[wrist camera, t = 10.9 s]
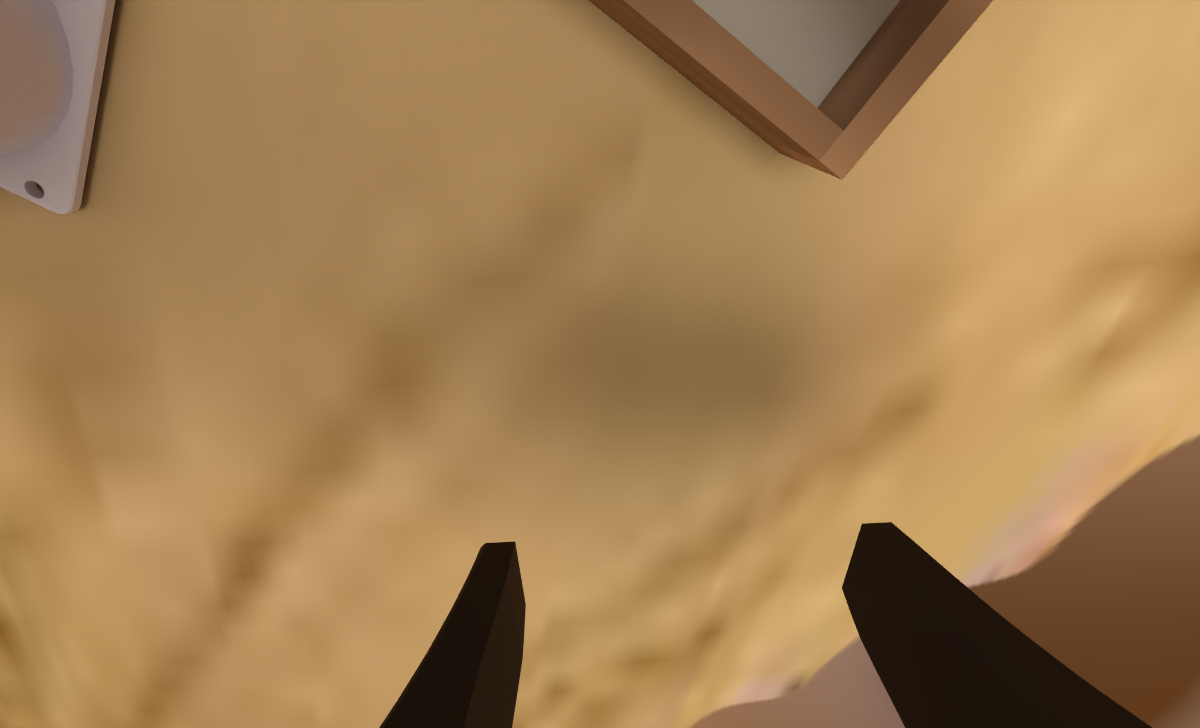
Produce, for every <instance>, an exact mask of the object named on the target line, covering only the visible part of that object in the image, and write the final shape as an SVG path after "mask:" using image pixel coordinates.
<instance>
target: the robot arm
mask: <svg viewBox="0 0 1200 728" xmlns="http://www.w3.org/2000/svg"><path fill="white" fill-rule="evenodd" d="M114 5H115V0H0V187H1V188H3V189H5V190H7V191H10V192H12V193H14V194H16V195H18V196H20V197H22V198H24V199H26V200H28V201H31V202H33V203H35V204H37V205H39V206H41V207H43V208H45V209H47V210H49V211H52V212H54V213H57V214H68V213H72V212H75V211H77V210H79V208H80V206H81V201H82V195H83V189H84V184H85V178H86V172H87V166H88V160H89V154H90V148H91V142H92V136H93V130H94V124H95V118H96V112H97V106H98V100H99V94H100V89H101V83H102V77H103V71H104V65H105V59H106V53H107V47H108V41H109V35H110V29H111V23H112V17H113V11H114ZM36 183H38V184H39V185H40V186H41V187H42V188H43V190H44V193H42V192H41V191H40V190H39V189H38V187H37V185H36ZM842 590H843V592H844V595H845V598H846V601H847V604H848V606H849V609H850V612H851V615H852V618H853V620H854V623H855V625H856V628H857V631H858V633H859V636H860V638H861V640H862V642H863V644H864V647H865V648H866V650H867V653H868V655H869V657H870V659H871V661H872V662H873V665H874V667H875V669H876V671H877V673H878V675H879V677H880V679H881V681H882V683H883V685H884V687H885V688H886V690H887V693H888V694H889V696H890V698H891V700H892V702H893V704H894V706H895V708H896V710H897V712H898V714H899V716H900V718H901V720H902V722H903V724H904V726H905V728H1152V727H1150V726H1149V725H1147V724H1146V723H1145V722H1143V721H1142V720H1140V719H1139V718H1137V717H1136V716H1135V715H1133V714H1132V713H1130V712H1129V711H1127V710H1126V709H1125V708H1123V707H1122V706H1120V705H1119V704H1117V703H1116V702H1114V701H1113V700H1112V699H1110V698H1109V697H1107V696H1106V695H1104V694H1103V693H1102V692H1100V691H1099V690H1097V689H1096V688H1095V687H1093V686H1092V685H1090V684H1089V683H1088V682H1086V681H1085V680H1084V679H1082V678H1081V677H1079V676H1078V675H1077V674H1075V673H1074V672H1073V671H1071V670H1070V669H1069V668H1067V667H1066V666H1065V665H1063V664H1062V663H1061V662H1060V661H1058V660H1057V659H1056V658H1054V657H1053V656H1052V655H1050V654H1049V653H1048V652H1047V651H1045V650H1044V649H1043V648H1041V647H1040V646H1039V645H1037V644H1036V643H1035V642H1033V641H1032V640H1031V639H1030V638H1028V637H1027V636H1026V635H1025V634H1023V633H1022V632H1021V631H1020V630H1018V629H1017V628H1016V627H1014V626H1013V625H1012V624H1011V623H1010V622H1008V621H1007V620H1006V619H1005V618H1003V617H1002V616H1001V615H1000V614H998V613H997V612H996V611H995V610H994V609H992V608H991V607H990V606H989V605H988V604H986V603H985V602H984V601H983V600H982V599H980V598H979V597H978V596H977V595H975V594H974V593H973V592H972V591H971V590H970V589H968V588H967V587H966V586H965V585H964V584H963V583H961V582H960V581H959V580H958V579H957V578H956V577H954V576H953V575H952V574H951V573H950V572H949V571H947V570H946V569H945V568H944V567H943V566H942V565H940V564H939V563H938V562H937V561H936V560H935V559H933V558H932V557H931V556H930V555H929V554H928V553H927V552H925V551H924V550H923V549H922V548H921V547H920V546H918V545H917V544H916V543H915V542H914V541H913V540H911V539H910V538H909V537H908V536H907V535H906V534H904V533H903V532H902V531H901V530H900V529H899V528H897V527H896V526H895V525H894V524H893V523H891V522H888V523H868V524H862V525H861V529H860V532H859V535H858V538H857V541H856V545H855V548H854V551H853V554H852V557H851V560H850V564H849V567H848V570H847V573H846V576H845V580H844V583H843V586H842ZM525 606H526V604H525V598H524V592H523V586H522V580H521V574H520V568H519V562H518V556H517V550H516V544H515V542H499V543H485V544H484V545H483V546H482V547H481V548H480V551H479V553H478V555H477V558H476V560H475V562H474V564H473V567H472V569H471V571H470V573H469V575H468V577H467V579H466V581H465V583H464V585H463V587H462V589H461V591H460V593H459V595H458V597H457V599H456V601H455V603H454V605H453V607H452V609H451V611H450V613H449V614H448V616H447V618H446V620H445V622H444V623H443V625H442V627H441V629H440V631H439V632H438V634H437V636H436V638H435V640H434V641H433V643H432V645H431V647H430V648H429V650H428V652H427V654H426V655H425V657H424V659H423V660H422V662H421V663H420V665H419V667H418V668H417V670H416V672H415V673H414V675H413V676H412V678H411V680H410V681H409V683H408V684H407V686H406V688H405V689H404V691H403V693H402V694H401V696H400V697H399V699H398V701H397V702H396V704H395V705H394V707H393V708H392V710H391V711H390V713H389V714H388V716H387V717H386V719H385V720H384V722H383V723H382V725H381V726H380V728H512V724H513V717H514V711H515V705H516V698H517V691H518V685H519V678H520V672H521V665H522V658H523V643H524V626H525Z"/></svg>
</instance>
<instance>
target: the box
mask: <svg viewBox="0 0 1200 728" xmlns="http://www.w3.org/2000/svg"><path fill="white" fill-rule="evenodd" d="M589 1H591V2H592V3H593V4H594V5H596V6H597V7H598V8H599V9H601V10H602V11H603V12H604V13H606V14H607V15H608V16H609V17H611V18H612V19H613V20H614V21H616V22H617V23H618V24H619V25H621V26H622V27H623V28H624V29H626V30H627V31H628V32H629V33H631V34H632V35H633V36H634V37H636V38H637V39H638V40H639V41H641V42H642V43H643V44H644V45H646V46H647V47H648V48H649V49H651V50H652V51H653V52H654V53H656V54H657V55H658V56H659V57H661V58H662V59H663V60H664V61H666V62H667V63H668V64H669V65H671V66H672V67H673V68H674V69H676V70H677V71H678V72H679V73H681V74H682V75H683V76H684V77H686V78H687V79H688V80H689V81H691V82H692V83H693V84H694V85H696V86H697V87H698V88H699V89H701V90H702V91H703V92H704V93H706V94H707V95H708V96H709V97H711V98H712V99H713V100H714V101H716V102H717V103H718V104H719V105H721V106H722V107H723V108H724V109H726V110H727V111H728V112H729V113H731V114H732V115H733V116H734V117H736V118H737V119H738V120H739V121H741V122H742V123H743V124H744V125H746V126H747V127H748V128H749V129H751V130H752V131H753V132H754V133H756V134H757V135H758V136H759V137H761V138H762V139H763V140H764V141H766V142H767V143H768V144H769V145H771V146H772V147H773V148H774V149H776V150H777V151H778V152H779V153H781V154H783V155H785V156H788V157H790V158H792V159H795V160H797V161H799V162H802V163H804V164H807V165H809V166H811V167H814V168H816V169H818V170H821V171H823V172H825V173H828V174H830V175H832V176H835V177H837V178H839V179H843V178H844V177H845V176H846V175H847V173H848V172H849V171H850V170H851V169H852V168H853V166H854V165H855V164H856V163H857V162H858V160H859V159H860V158H861V157H862V156H863V154H864V153H865V152H866V151H867V150H868V148H869V147H870V146H871V145H872V144H873V143H874V141H875V140H876V139H877V138H878V137H879V135H880V134H881V133H882V132H883V131H884V129H885V128H886V127H887V126H888V125H889V124H890V122H891V121H892V120H893V119H894V118H895V116H896V115H897V114H898V113H899V112H900V110H901V109H902V108H903V107H904V106H905V104H906V103H907V102H908V101H909V100H910V99H911V97H912V96H913V95H914V94H915V93H916V91H917V90H918V89H919V88H920V87H921V85H922V84H923V83H924V82H925V81H926V79H927V78H928V77H929V76H930V75H931V74H932V72H933V71H934V70H935V69H936V68H937V66H938V65H939V64H940V63H941V62H942V60H943V59H944V58H945V57H946V56H947V55H948V53H949V52H950V51H951V50H952V49H953V47H954V46H955V45H956V44H957V43H958V41H959V40H960V39H961V38H962V37H963V35H964V34H965V33H966V32H967V31H968V30H969V28H970V27H971V26H972V25H973V24H974V22H975V21H976V20H977V19H978V18H979V16H980V15H981V14H982V13H983V12H984V11H985V9H986V8H987V7H988V6H989V5H990V3H991V2H992V1H993V0H589Z"/></svg>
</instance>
